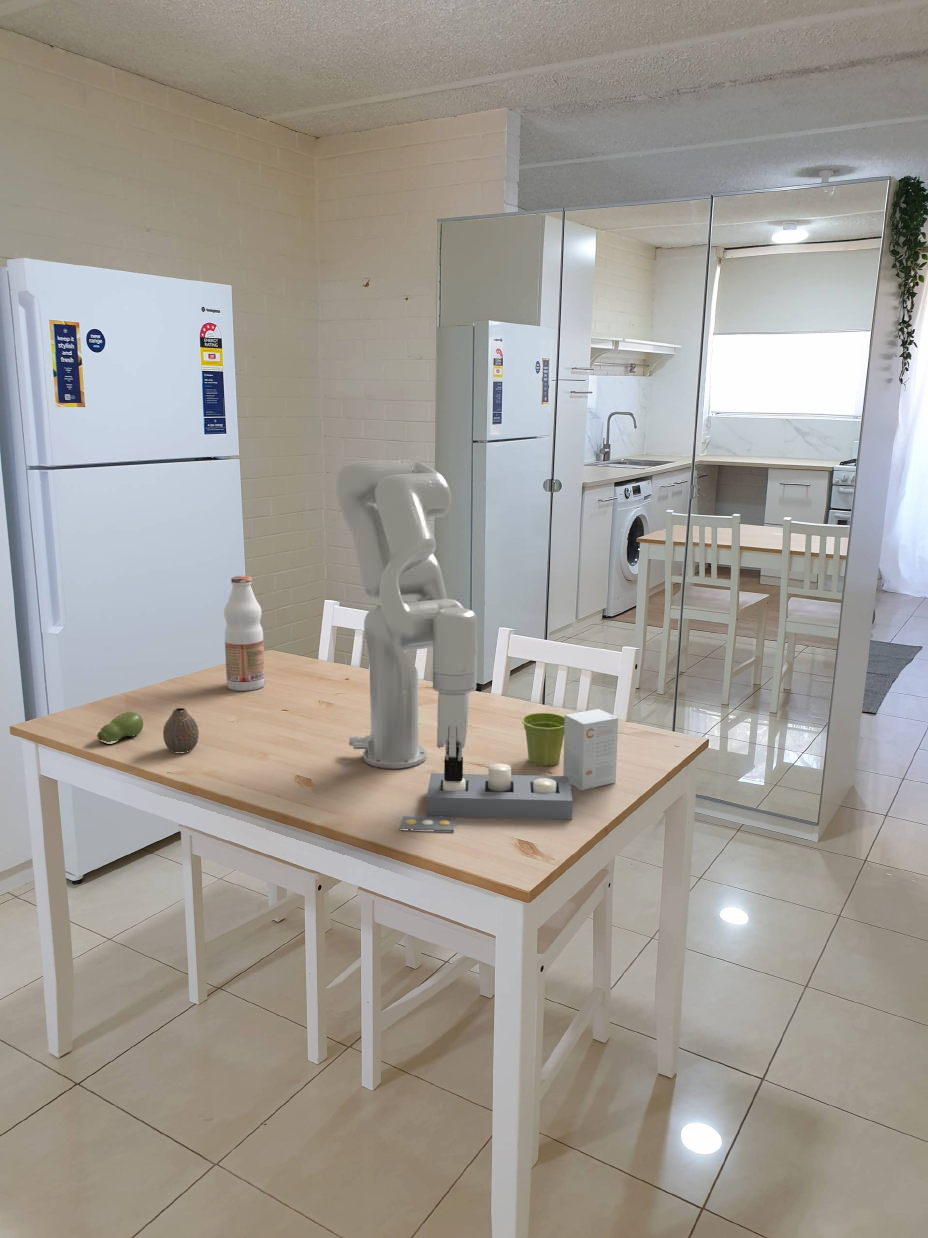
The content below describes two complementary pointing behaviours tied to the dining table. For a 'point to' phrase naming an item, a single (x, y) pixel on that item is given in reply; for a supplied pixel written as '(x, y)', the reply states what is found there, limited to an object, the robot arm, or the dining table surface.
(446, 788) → the button left
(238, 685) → the fruit juice
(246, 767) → the dining table surface
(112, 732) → the pear
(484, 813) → the board
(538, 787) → the button right
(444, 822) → the pattern tile
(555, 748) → the plant pot
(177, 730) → the vase
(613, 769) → the small box
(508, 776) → the button mid
